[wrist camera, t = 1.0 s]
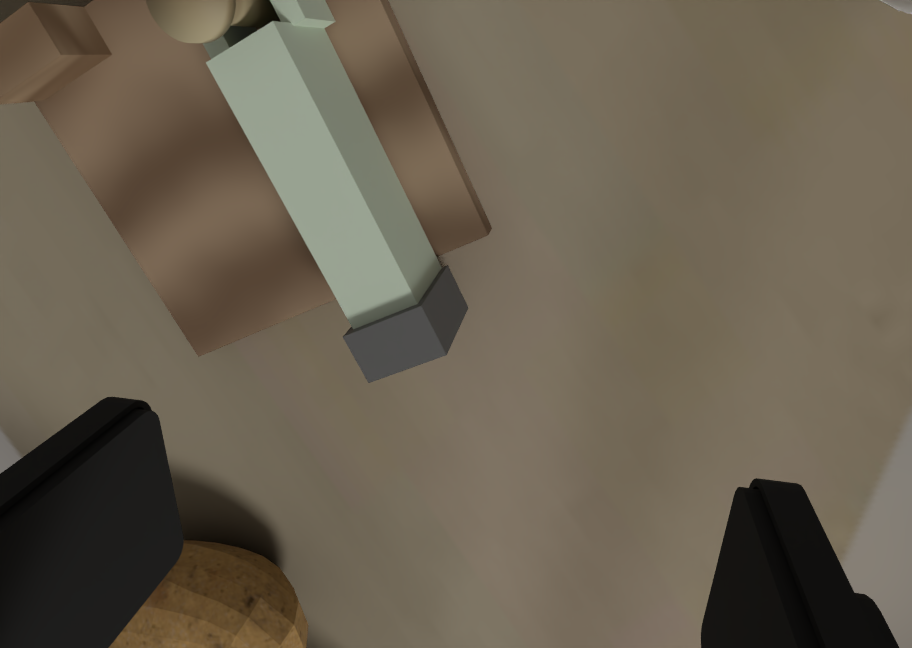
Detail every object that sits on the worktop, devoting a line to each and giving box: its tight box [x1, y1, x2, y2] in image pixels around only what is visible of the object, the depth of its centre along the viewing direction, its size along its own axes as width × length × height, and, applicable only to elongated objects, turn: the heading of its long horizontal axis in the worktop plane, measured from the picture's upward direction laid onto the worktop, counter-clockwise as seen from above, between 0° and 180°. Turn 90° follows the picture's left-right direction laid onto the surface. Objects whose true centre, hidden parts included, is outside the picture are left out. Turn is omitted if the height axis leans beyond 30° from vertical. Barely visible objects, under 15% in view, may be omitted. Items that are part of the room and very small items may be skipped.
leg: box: [203, 0, 468, 383], centre depth 25 cm, size 16×4×5 cm, turn 26°
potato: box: [109, 540, 308, 648], centre depth 37 cm, size 10×14×8 cm
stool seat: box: [0, 0, 492, 357], centre depth 26 cm, size 16×17×8 cm
